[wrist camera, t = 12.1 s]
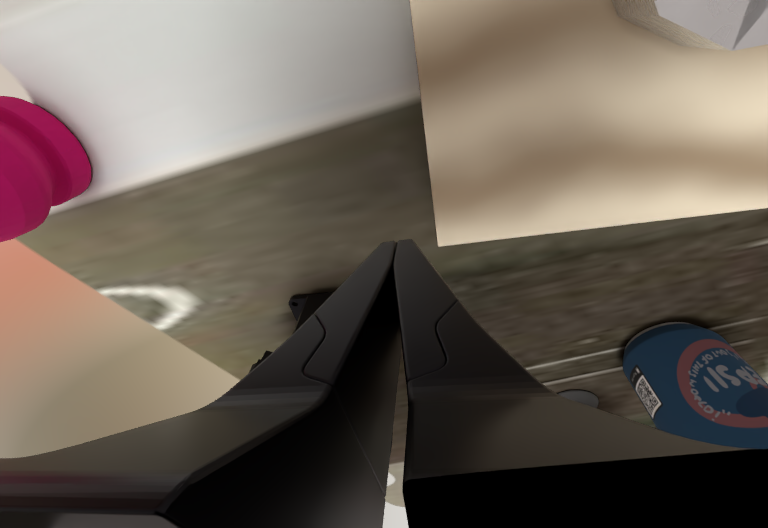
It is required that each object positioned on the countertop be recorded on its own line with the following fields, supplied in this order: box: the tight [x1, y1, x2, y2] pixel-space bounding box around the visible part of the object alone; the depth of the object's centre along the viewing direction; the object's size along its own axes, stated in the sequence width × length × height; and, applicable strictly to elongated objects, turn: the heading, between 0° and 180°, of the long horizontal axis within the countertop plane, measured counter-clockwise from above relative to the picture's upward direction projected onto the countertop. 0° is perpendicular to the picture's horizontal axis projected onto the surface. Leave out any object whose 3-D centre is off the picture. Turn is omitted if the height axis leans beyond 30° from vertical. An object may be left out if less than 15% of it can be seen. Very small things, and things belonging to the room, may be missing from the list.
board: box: [410, 0, 768, 247], centre depth 15 cm, size 20×19×1 cm
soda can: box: [623, 322, 768, 449], centre depth 22 cm, size 7×7×12 cm
